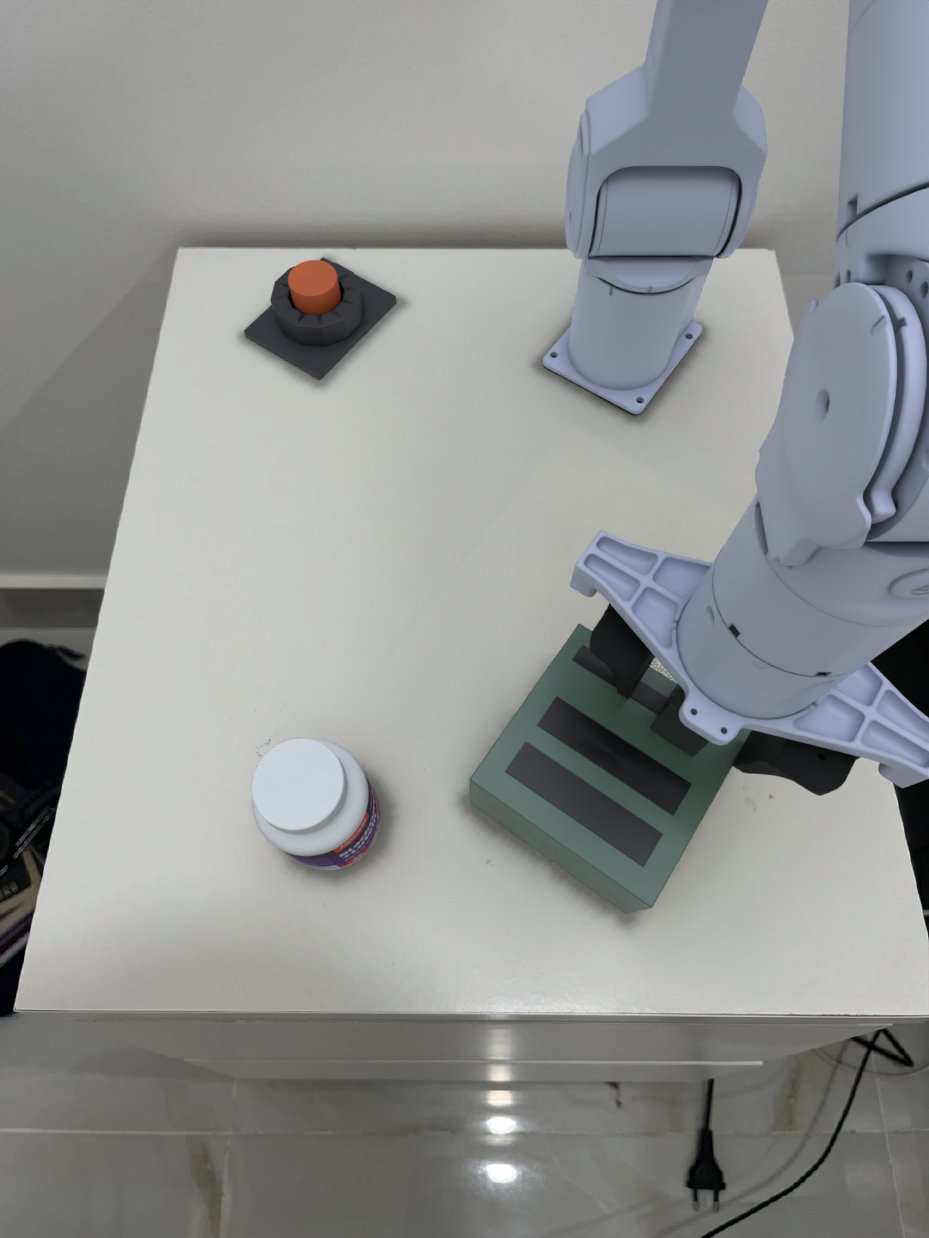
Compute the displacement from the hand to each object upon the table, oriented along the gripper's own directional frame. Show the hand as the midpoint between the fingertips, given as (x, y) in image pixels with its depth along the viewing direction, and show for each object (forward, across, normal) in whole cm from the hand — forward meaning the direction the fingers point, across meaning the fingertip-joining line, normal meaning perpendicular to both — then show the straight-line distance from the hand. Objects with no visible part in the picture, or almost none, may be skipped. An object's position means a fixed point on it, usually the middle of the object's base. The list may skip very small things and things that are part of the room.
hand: (688, 715), depth 37 cm
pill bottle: (+7, -12, -14) cm, 20 cm away
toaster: (+7, -2, -4) cm, 8 cm away
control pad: (+7, -36, +14) cm, 39 cm away
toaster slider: (+1, 0, 0) cm, 1 cm away
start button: (+5, -36, +14) cm, 39 cm away
